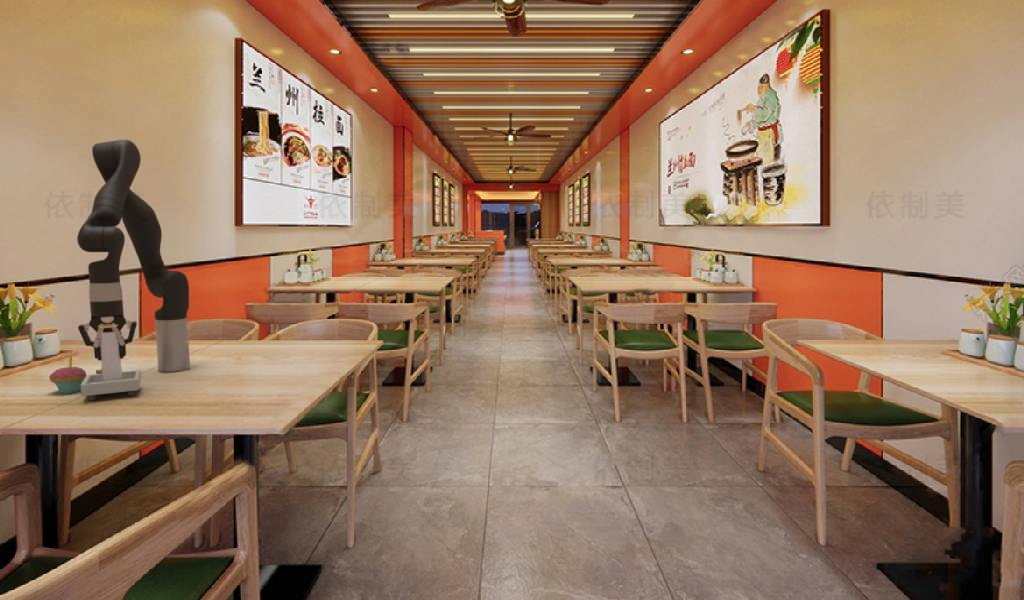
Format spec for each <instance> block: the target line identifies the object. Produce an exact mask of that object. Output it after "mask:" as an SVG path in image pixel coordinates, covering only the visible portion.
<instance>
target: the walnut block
mask: <svg viewBox="0 0 1024 600" xmlns="http://www.w3.org/2000/svg"><path fill="white" fill-rule="evenodd" d="M95 374H102V368H100V369H95Z"/></svg>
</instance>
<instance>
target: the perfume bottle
mask: <svg viewBox="0 0 1024 600" xmlns="http://www.w3.org/2000/svg"><path fill="white" fill-rule="evenodd" d="M113 319H114V317H101V320H102V321H103V322H104V323H110V322H112V321H113ZM104 325H105V326H96V328H111V327H118V326H120V324H116V325H111V324H104ZM101 334H102V336H101V340H100V352H101V361H100V363H101V369H102V377H103V380H116V379H120V378H122V372H123V371H122V370H123V369H122V359H120V350H119V346H120V343H119V341H118V339H117V338H116V336H115V332H103V333H101Z"/></svg>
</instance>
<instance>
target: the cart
mask: <svg viewBox="0 0 1024 600" xmlns="http://www.w3.org/2000/svg"><path fill="white" fill-rule="evenodd" d="M141 375H142V374H141V369H139V370H138V369H137V370H128V371H127V370H126V371H122V378H120V379H116V380H103V377H102V374H96V373H95V374H86V377H85V379H84V380H83V382H82V384H81V385H80V386H81V389H80V394H81V396H80V397H87V396H88V402H93V401H95V400H96V395H104V394H105V395H106V394H115V393H123V392H127V394H128V397H134V396H135V391H140V386H141V384H142V383H141V382H142V376H141Z"/></svg>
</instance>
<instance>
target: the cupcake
mask: <svg viewBox="0 0 1024 600" xmlns="http://www.w3.org/2000/svg"><path fill="white" fill-rule="evenodd" d="M86 376H87V373H86V370H84V369H83V368H81V367H79V366H73V353H72V351H70V353H69V354H68V366H67V367H60V368H58V369H55V371H53V372H51V374H49V381H50V382H51V383H52V384H53V383H54V384H55V386H56V387H57V389H58V391H59V393H60V394H74V393H78V392H79V391H80V392H81V386H80V385H81V384H82V382H83V380H84V379H85V377H86Z"/></svg>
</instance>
